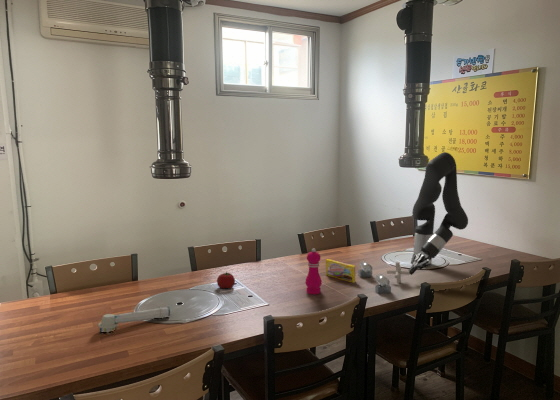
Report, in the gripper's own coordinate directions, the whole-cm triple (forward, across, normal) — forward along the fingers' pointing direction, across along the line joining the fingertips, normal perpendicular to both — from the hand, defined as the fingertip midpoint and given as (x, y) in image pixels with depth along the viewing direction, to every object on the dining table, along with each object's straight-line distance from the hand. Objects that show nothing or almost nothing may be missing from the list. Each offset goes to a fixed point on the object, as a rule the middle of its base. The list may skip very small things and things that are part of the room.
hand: (409, 273), depth 190 cm
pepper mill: (+36, 0, -30) cm, 47 cm away
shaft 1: (+14, -12, -9) cm, 21 cm away
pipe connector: (+6, -2, 0) cm, 7 cm away
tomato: (+62, -15, -57) cm, 86 cm away
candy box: (+24, -13, -18) cm, 32 cm away
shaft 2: (+15, +7, -9) cm, 19 cm away
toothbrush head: (+89, +14, -82) cm, 121 cm away
